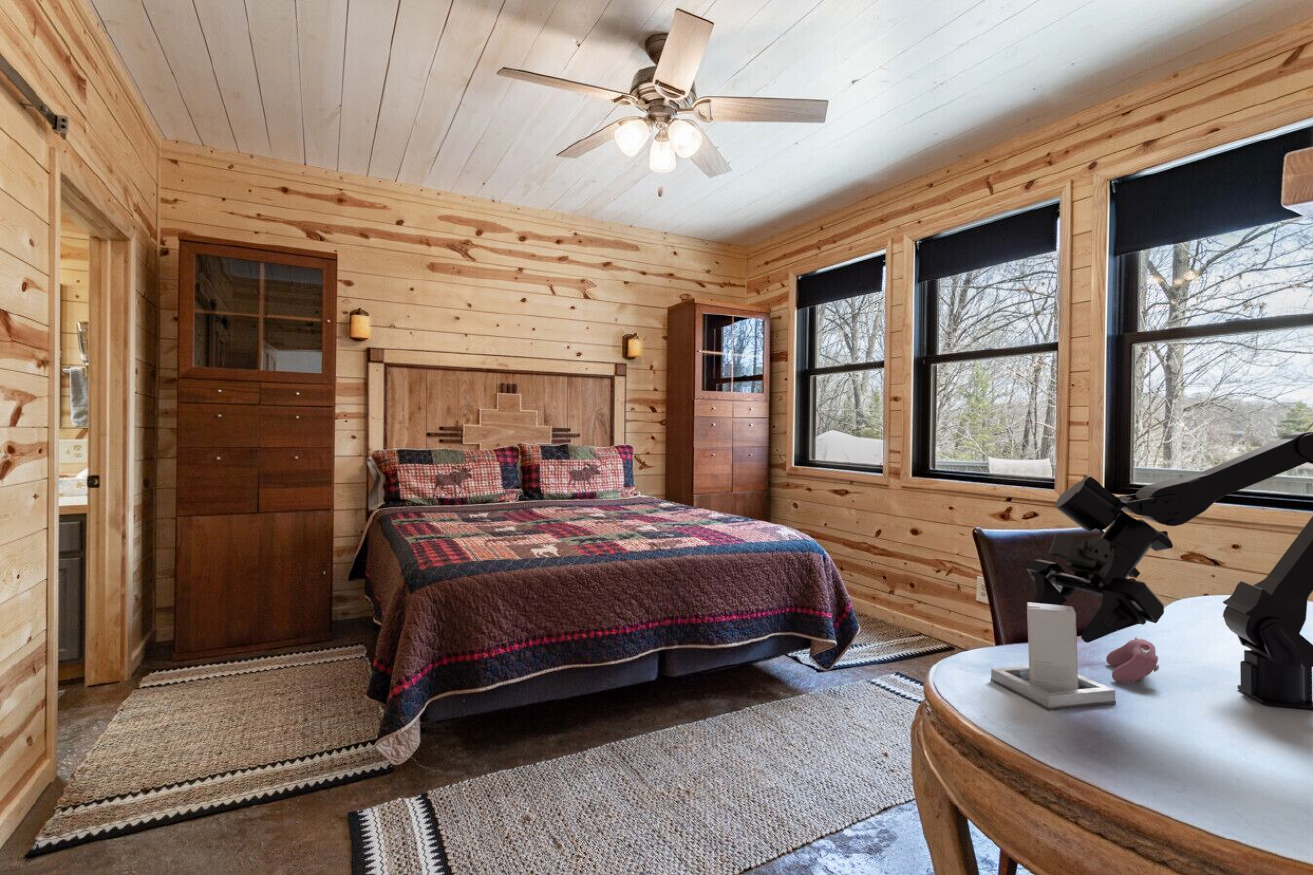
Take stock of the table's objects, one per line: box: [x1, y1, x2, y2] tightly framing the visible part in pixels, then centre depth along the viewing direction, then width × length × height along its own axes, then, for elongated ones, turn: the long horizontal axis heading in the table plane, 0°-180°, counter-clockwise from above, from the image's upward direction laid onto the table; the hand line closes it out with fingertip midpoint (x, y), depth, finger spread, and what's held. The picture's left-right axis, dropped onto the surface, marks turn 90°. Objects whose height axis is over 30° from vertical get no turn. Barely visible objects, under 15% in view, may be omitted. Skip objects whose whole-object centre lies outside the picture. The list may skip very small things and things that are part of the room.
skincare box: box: [1026, 601, 1079, 692], centre depth 93 cm, size 6×4×12 cm
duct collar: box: [990, 664, 1117, 712], centre depth 93 cm, size 11×11×2 cm
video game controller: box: [1105, 636, 1160, 684], centre depth 99 cm, size 10×5×7 cm, turn 150°
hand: (1056, 630), depth 93 cm, fingers open, 9 cm apart
